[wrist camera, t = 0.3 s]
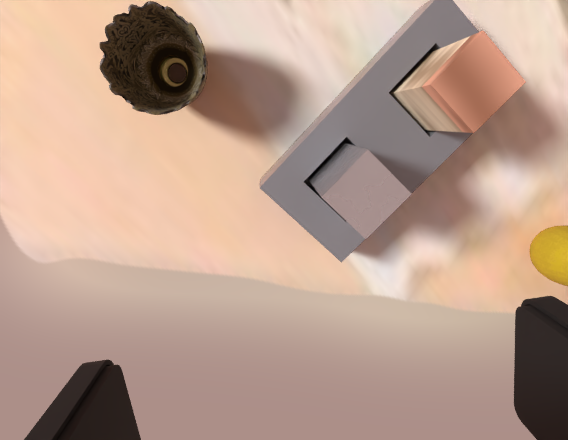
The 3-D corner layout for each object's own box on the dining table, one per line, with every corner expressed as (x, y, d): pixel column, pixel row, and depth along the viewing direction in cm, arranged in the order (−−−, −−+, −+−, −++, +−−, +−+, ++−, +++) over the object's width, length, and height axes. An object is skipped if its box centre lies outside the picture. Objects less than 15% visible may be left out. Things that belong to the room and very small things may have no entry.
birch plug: (414, 59, 35) (483, 30, 24) (445, 94, 36) (525, 81, 25) (379, 95, 36) (430, 84, 25) (411, 129, 37) (474, 132, 26)
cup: (235, 69, 35) (226, 54, 28) (185, 132, 36) (164, 135, 29) (168, 9, 34) (139, -24, 26) (119, 77, 35) (77, 65, 27)
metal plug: (337, 140, 37) (367, 149, 26) (368, 172, 38) (411, 193, 27) (304, 174, 37) (321, 197, 26) (336, 204, 38) (365, 239, 27)
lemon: (556, 269, 42) (623, 302, 34) (507, 265, 41) (563, 298, 34) (571, 219, 40) (643, 242, 33) (520, 215, 40) (581, 237, 32)
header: (419, 8, 35) (443, -11, 30) (488, 89, 37) (522, 84, 32) (260, 179, 38) (259, 187, 33) (332, 245, 40) (341, 262, 35)
